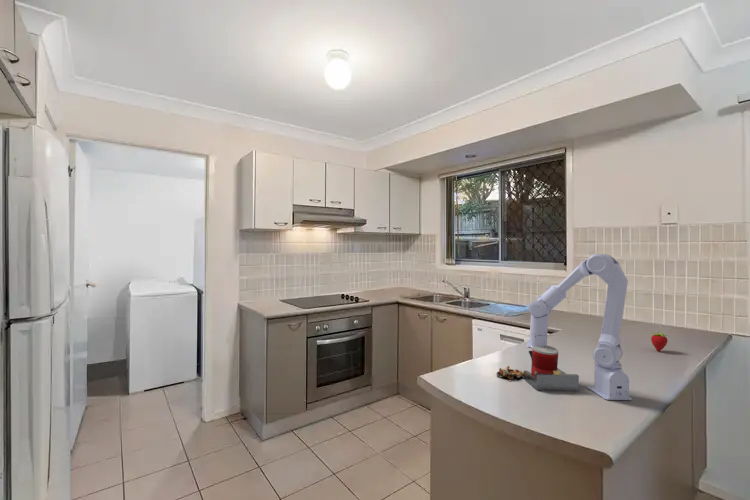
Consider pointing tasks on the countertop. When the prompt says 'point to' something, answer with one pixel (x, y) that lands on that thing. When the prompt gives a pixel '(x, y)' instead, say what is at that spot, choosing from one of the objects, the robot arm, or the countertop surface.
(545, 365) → the canned food
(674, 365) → the countertop surface
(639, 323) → the countertop surface
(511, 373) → the brown jagged clump
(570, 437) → the countertop surface
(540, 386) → the coupler bay
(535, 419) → the countertop surface
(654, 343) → the strawberry
